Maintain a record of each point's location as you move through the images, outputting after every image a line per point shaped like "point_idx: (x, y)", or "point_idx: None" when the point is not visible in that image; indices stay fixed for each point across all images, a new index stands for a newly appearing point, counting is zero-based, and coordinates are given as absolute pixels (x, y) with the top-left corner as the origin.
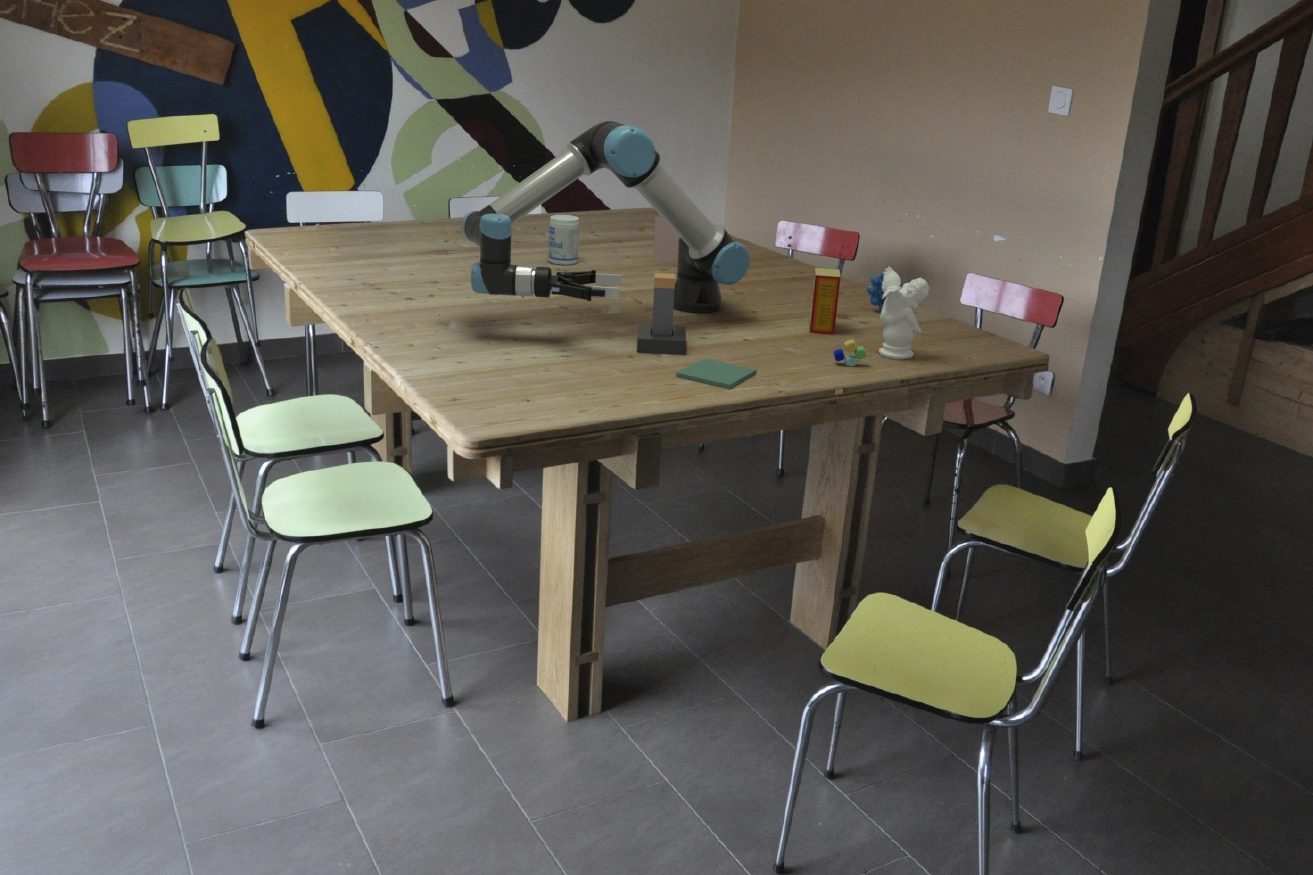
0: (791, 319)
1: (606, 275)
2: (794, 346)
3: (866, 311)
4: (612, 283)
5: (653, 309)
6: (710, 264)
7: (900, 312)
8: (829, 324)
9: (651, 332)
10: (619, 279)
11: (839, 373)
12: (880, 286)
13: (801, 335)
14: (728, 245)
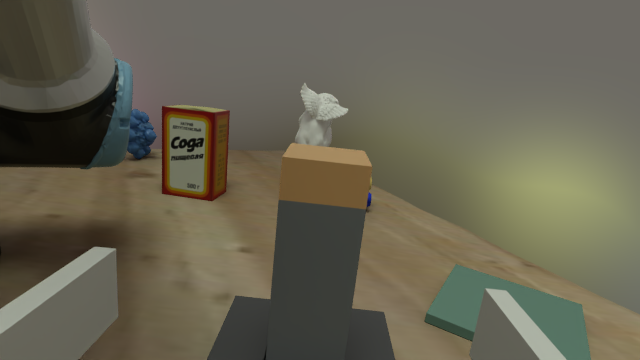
0: (131, 199)
1: (30, 320)
2: None
3: (128, 163)
4: (78, 344)
5: (353, 294)
6: (97, 120)
7: (330, 133)
8: (223, 180)
9: None
10: (110, 282)
11: (400, 216)
12: (139, 128)
13: (225, 207)
14: (123, 64)
